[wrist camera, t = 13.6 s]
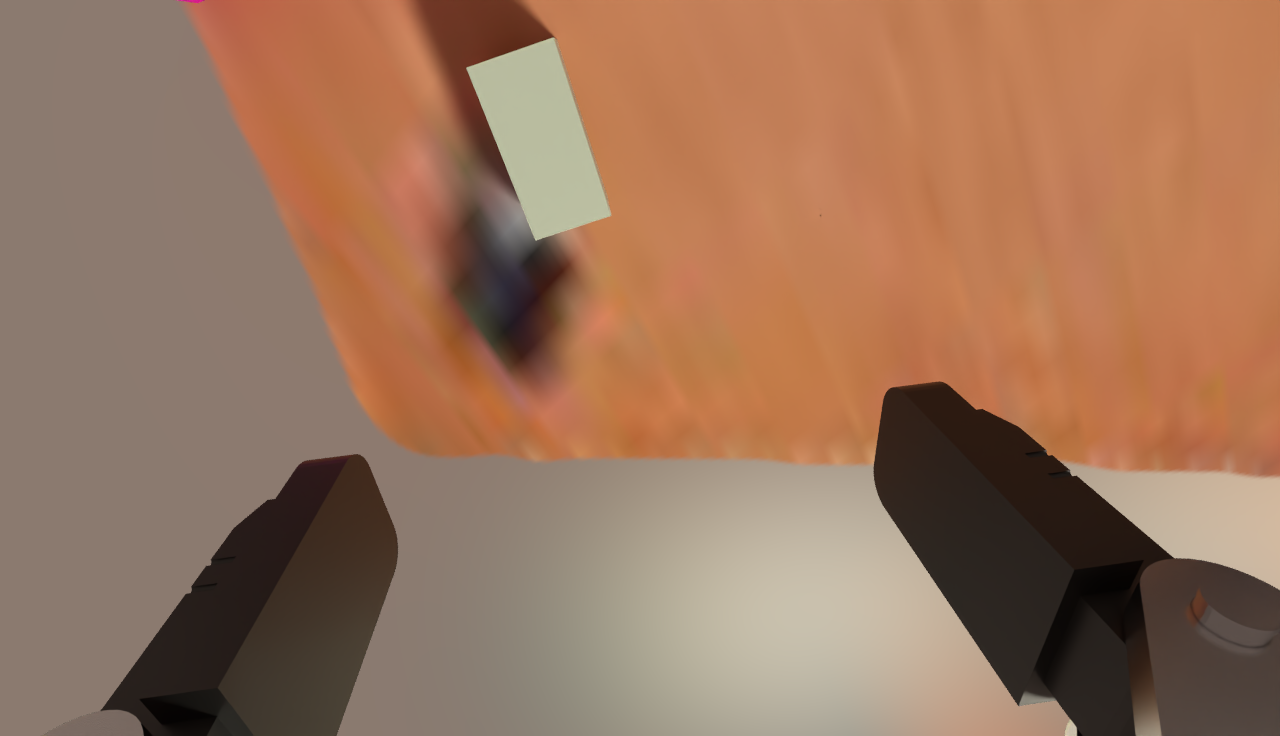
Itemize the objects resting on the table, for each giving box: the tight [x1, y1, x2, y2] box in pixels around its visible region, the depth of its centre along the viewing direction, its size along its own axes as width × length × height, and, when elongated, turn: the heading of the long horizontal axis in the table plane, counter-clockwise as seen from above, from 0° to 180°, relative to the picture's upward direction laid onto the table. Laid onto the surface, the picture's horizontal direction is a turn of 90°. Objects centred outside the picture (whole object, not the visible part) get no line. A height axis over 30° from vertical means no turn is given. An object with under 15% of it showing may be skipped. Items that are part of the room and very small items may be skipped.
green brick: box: [466, 37, 611, 240], centre depth 32 cm, size 4×9×5 cm, turn 17°
